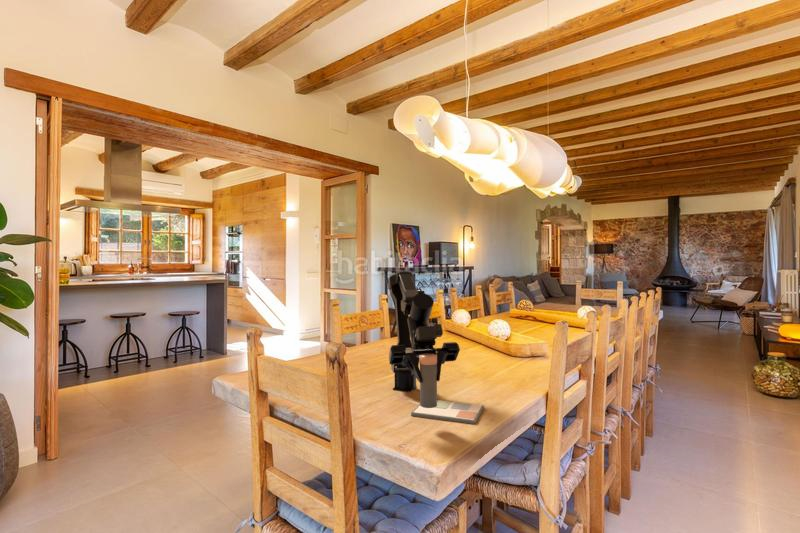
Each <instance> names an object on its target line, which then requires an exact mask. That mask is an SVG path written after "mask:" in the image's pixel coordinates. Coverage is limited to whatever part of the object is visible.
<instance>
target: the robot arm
mask: <svg viewBox="0 0 800 533" xmlns="http://www.w3.org/2000/svg"><path fill="white" fill-rule="evenodd" d="M413 277H414V276H413V275H412V271H409V270H408V271H407V270H404V271H403V270H401V271H400V270H398V271H396V272H395V273H394V274H393V275H390V276H389V278H388V279H387V290H389V295H390V297H391V298H392V300H393V301H394V305H395V307H394V309H395V319H396V320H395V321H396V335H397V337H396V338H397V343H396V344H392V345H391V346H390V347H389V352H388V362H389V364H390V365H391V371H392V373H394V387H393V388H392V390H393V391H401V392H409V393H410V392H413V390H414V389H415V388H417V381H418V383H419V384H420V383H421V382H422V379H421V373H420V363H419V355H420V354H427V353H429V354H436V355H437V383H438V382H440V380H441V371H442V365H444V364H445V362H455V361H456V360H457V359H458V356H459V353H460V350H461V349H460V346H459V343H457V342H455V341H452V342H450V341H447V342H443V343H442V347H434V346H436V339H437V338H441V337H443V334H444V331H443V326H442V324H440V323H438V324H436V323H435V324H434V325H429V322H428V320H429V319H431V318H430V317H431V315H432V314H431V313H432V312H433V307H434V299H433V297H432V296H430V294H428V293H427V294H426V293H425V290H417V287H416V285H415V282H414V278H413Z"/></svg>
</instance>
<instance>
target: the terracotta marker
mask: <svg viewBox="0 0 800 533" xmlns="http://www.w3.org/2000/svg"><path fill="white" fill-rule="evenodd" d="M419 370H420V373H421V379H422V382H421V383H420V382H419V393H420V394H419V396H420V398H419V399H420V400H419V402H420V403H419V405H420V406H421V407H424V408H434V407H436V406H437V400H438V381H437V355H436V354H429V353H427V354H420V355H419Z"/></svg>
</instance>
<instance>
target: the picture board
mask: <svg viewBox="0 0 800 533" xmlns="http://www.w3.org/2000/svg"><path fill="white" fill-rule="evenodd" d="M484 409H485V405H484V404H478V403H477V404H475V403H469V402H467V403H466V402H458V401H451V400H450V401H449V400H441V399H437V406H436V407H434V408H424V407H421V406H420V404H418V406H416V407H415V408H414V409H413V411H412V412H410V416H412V417H418V418H426V419H435V420H442V421H448V422H457V423H465V424H471V425H476V423H477V421H478V420H479V418H480V416H481V414H482V413H483V411H484Z"/></svg>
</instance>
